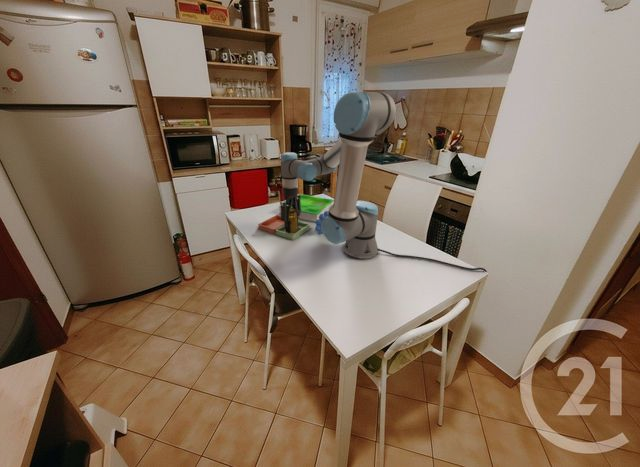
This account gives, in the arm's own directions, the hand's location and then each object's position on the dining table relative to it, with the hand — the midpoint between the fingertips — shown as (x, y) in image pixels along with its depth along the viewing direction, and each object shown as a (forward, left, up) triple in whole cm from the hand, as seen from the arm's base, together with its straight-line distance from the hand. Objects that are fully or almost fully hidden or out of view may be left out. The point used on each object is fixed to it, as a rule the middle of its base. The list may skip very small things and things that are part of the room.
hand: (292, 229), depth 136 cm
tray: (+9, -28, -2) cm, 30 cm away
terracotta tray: (+12, -1, -2) cm, 12 cm away
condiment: (0, -1, -1) cm, 1 cm away
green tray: (0, -1, -2) cm, 2 cm away
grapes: (-14, -9, -2) cm, 16 cm away
